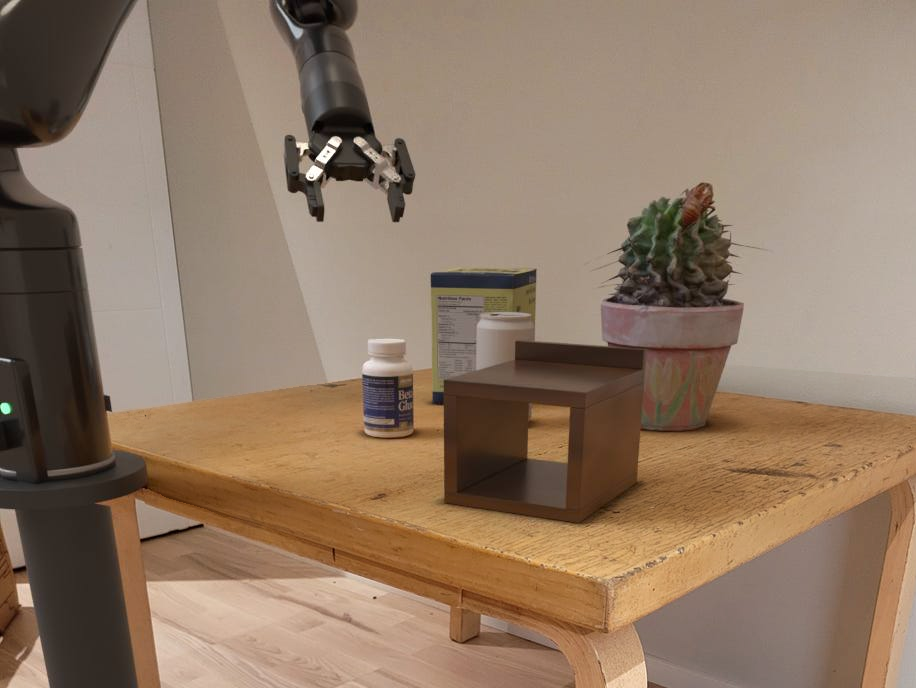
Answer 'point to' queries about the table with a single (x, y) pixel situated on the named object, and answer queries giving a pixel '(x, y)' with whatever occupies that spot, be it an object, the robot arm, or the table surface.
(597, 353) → the shelf
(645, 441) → the table surface
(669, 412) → the potted plant
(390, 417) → the pill bottle
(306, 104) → the robot arm
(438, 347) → the protein box
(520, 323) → the beverage can
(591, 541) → the table surface
